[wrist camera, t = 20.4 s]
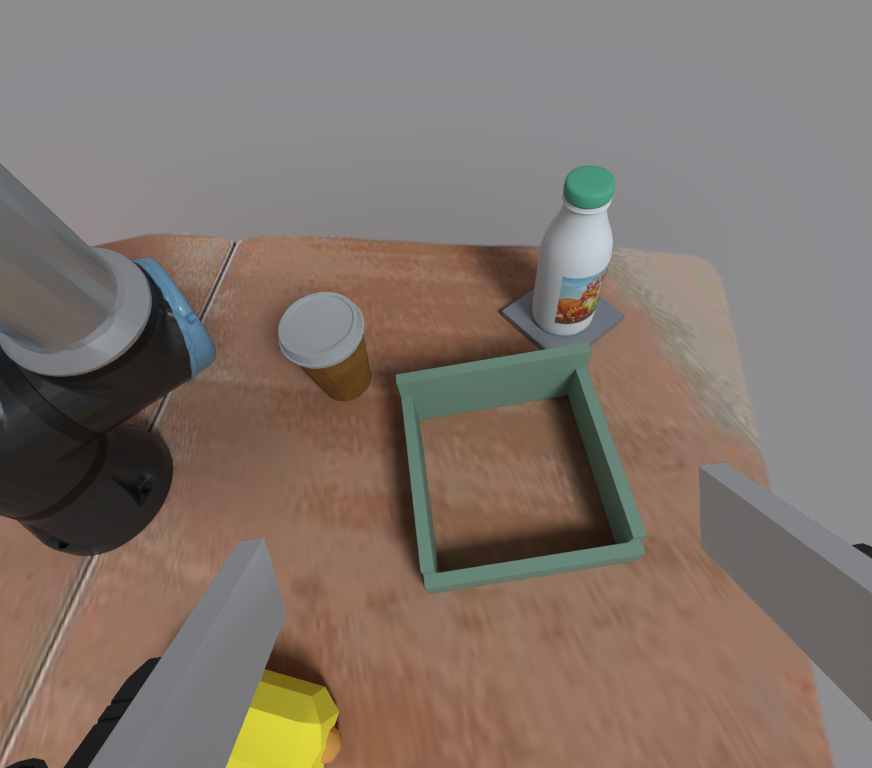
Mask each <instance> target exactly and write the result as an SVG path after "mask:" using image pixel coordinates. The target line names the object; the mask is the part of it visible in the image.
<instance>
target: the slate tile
mask: <svg viewBox="0 0 872 768" xmlns="http://www.w3.org/2000/svg"><path fill="white" fill-rule="evenodd" d="M534 289H535V288H534ZM534 289H532V290H531V291H529V292H528V293H527V294H525V295H524V296H522V297H521V298H520V299H518V300H517V301H515V302H514V303H512V304H511V305H510V306H508V307H507V308H505V309H504V310H503V311H502V316H503V317H504V318H505V319H506V320H507V321H508V322H510V323H511V324H512V325H513V326H514V327H515V328H516V329H518V330H519V331H520V332H521V333H522V334H523V335H524V336H526V337H527V338H528V339H529V340H530V341H531V342H532V343H534V344H535V345H536V346H537V347H538V348H539V349H540V350H545V349H551V348H557V347H563V346H569V345H575V344H581V343H587V342H588V343H589V345H592V344H593V343H594V342H595V341H597V340H598V339H599V338H601V337H602V336H603V335H605V334H606V333H607V332H608V331H610V330H611V329H612V328H614V327H615V326H616V325H617V324H619V323H620V322H621V321H623V319H624V316H625V315H624V314H622V313H621V312H620V311H618V310H617V309H615V308H614V307H613V306H611V305H610V304H609V303H607V302H606V301H605V300H603V299H602V298H601V297H599V300H598V303H597V306H596V309H595V312H594V315H593V318H592V321H591V322H590V324H589V325H588V326H587V327H586V328H585V329H584V330H582V331H581V332H579V333H577V334H574V335H569V336H558V335H553V334H551V333H548V332H546V331H545V330H543V329H542V328H541V327H539V325H538V324H537V323H536V321H535V319H534V317H533V313H532V306H533V297H534Z"/></svg>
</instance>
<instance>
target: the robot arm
mask: <svg viewBox="0 0 872 768" xmlns="http://www.w3.org/2000/svg"><path fill="white" fill-rule="evenodd" d="M215 357H216V348H215V345H214V343H213V341H212V339H211V337H210V336H209V334H208V332H207V331H206V329H205V327H204V326H203V324H202V323H201V321H200V320H199V319H198V317H197V316H196V315H195V314H194V311H193V310H192V308H191V307H190V305H189V303H188V302H187V300H186V299H185V297H184V296H183V294H182V293H181V292H180V290H179V289H178V287H177V286H176V285H175V283H174V282H173V281H172V279H171V278H170V276H169V275H168V274H167V273H166V271H165V270H164V269H163V267H162V266H161V265H160V264H159V263H158V262H157V261H156V260H155V259H153V258H149V257H145V258H142V259H134V260H133V261H131V260H129V259H128V258H127V257H125V256H124V255H122V254H120V253H117V252H115V251H112V250H109V249H105V248H99V247H89V246H88V245H87V244H86V243H85V242H84V241H83V240H82V239H80V238H79V237H78V236H77V235H76V234H75V233H74V232H73V231H72V230H71V229H70V228H69V227H68V226H67V225H66V224H64V222H62V221H61V220H60V219H59V218H58V217H57V216H56V215H55V214H54V213H53V212H52V211H51V210H50V209H49V208H47V207H46V206H45V205H44V204H43V203H42V202H41V201H40V200H39V199H38V198H37V197H36V196H35V195H34V194H32V192H30V191H29V190H28V189H27V188H26V187H25V186H24V185H23V184H22V183H21V182H20V181H19V180H18V179H17V178H16V177H14V176H13V175H12V174H11V173H10V172H9V171H8V170H7V169H6V168H5V167H4V166H3V165H2V164H1V163H0V516H4V517H8V518H11V519H15V520H17V521H18V522H19V523H21V524H22V525H23V526H24V527H25V528H26V529H27V530H29V531H30V532H31V533H32V534H33V535H34V536H35V537H37V538H38V539H39V540H40V541H41V542H42V543H44V544H45V545H47V546H48V547H50V548H52V549H54V550H57V551H60V552H65V553H69V554H73V555H78V556H92V555H98V554H102V553H105V552H108V551H111V550H113V549H116V548H118V547H120V546H121V545H123V544H125V543H126V542H128V541H130V540H131V539H132V538H134V537H135V536H136V535H137V534H139V533H140V532H141V531H142V530H143V529H144V528H145V527H146V526H147V525H148V524H149V523H150V522H151V521H152V519H153V518H154V517H155V516H156V514H157V513H158V511H159V510H160V508H161V507H162V505H163V503H164V501H165V499H166V497H167V494H168V492H169V489H170V485H171V481H172V474H173V465H172V459H171V456H170V453H169V451H168V449H167V447H166V446H165V444H164V443H163V442H162V441H161V440H160V439H158V438H157V437H156V436H154V435H152V434H151V433H149V432H148V431H146V430H144V429H142V428H140V427H137V426H134V425H128V424H122V423H123V422H125V421H126V420H128V419H129V418H131V417H132V416H134V415H135V414H137V413H139V412H140V411H142V410H143V409H145V408H146V407H148V406H149V405H151V404H152V403H154V402H155V401H157V400H158V399H160V398H161V397H163V396H165V395H166V394H168V393H169V392H171V391H172V390H174V389H175V388H177V387H179V386H180V385H182V384H183V383H185V382H189V381H191V380H193V379H194V378H195V376H196V374H198V373H199V372H201V371H202V370H203V369H205V368H206V367H207V366H209V365H210V364H211V363H212V362H213V361H214V359H215ZM699 487H700V524H701V548H702V549H703V550H704V551H705V552H706V553H707V554H708V555H709V556H710V557H711V558H712V559H713V560H714V561H715V562H716V563H717V564H718V565H719V566H720V567H721V568H722V569H723V570H724V571H725V572H726V573H727V574H728V575H729V576H730V577H731V578H732V579H733V580H734V581H735V582H736V583H737V584H738V585H739V586H740V587H741V588H742V589H743V590H744V591H745V592H746V593H747V594H748V595H749V596H750V598H751V599H752V600H753V601H754V602H755V603H756V604H757V605H758V606H759V607H760V608H761V609H762V610H763V611H764V612H765V613H766V614H767V615H768V616H769V617H770V618H771V619H772V620H773V621H774V622H775V623H776V624H777V625H778V626H779V627H780V628H781V629H782V630H783V631H784V632H785V633H786V634H787V635H788V636H789V637H790V638H791V639H792V640H793V641H794V642H795V643H796V644H797V645H798V647H799V648H800V649H801V650H802V651H803V652H804V653H805V654H806V655H807V656H808V657H809V658H810V659H811V660H812V661H813V662H814V663H815V664H816V665H817V666H818V667H819V668H820V669H821V670H822V671H823V672H824V673H825V674H826V675H827V676H828V677H829V678H830V679H831V680H832V681H833V682H834V683H835V684H836V685H837V686H838V687H839V688H840V689H841V690H842V691H843V692H844V693H845V694H846V695H847V696H848V697H849V699H850V700H852V701H853V703H854V704H855V705H856V706H857V707H858V708H859V709H860V710H861V711H862V712H863V713H864V714H865V715H866V716H867V717H868V718H869V719H870V720H871V721H872V547H871V546H869V545H866V544H864V543H863V544H856V545H850V544H849V543H847V542H845V541H844V540H843V539H841V538H840V537H838V536H837V535H835V534H834V533H832V532H830V531H829V530H827V529H826V528H824V527H823V526H821V525H820V524H818V523H817V522H815V521H814V520H812V519H810V518H809V517H808V516H806V515H805V514H803V513H802V512H800V511H798V510H797V509H795V508H794V507H792V506H791V505H789V504H788V503H786V502H785V501H783V500H782V499H780V498H779V497H777V496H776V495H774V494H773V493H771V492H770V491H768V490H767V489H765V488H764V487H762V486H761V485H759V484H757V483H756V482H754V481H753V480H751V479H750V478H748V477H747V476H745V475H744V474H742V473H741V472H739V471H738V470H736V469H735V468H733V467H732V466H730V465H729V464H727V463H726V462H722V463H716V464H710V465H704V466H699ZM285 616H286V611H285V607H284V604H283V600H282V597H281V594H280V590H279V587H278V583H277V580H276V577H275V573H274V570H273V566H272V563H271V560H270V556H269V553H268V550H267V546H266V543H265V539H264V538H257V539H251V540H245V541H239V542H238V544H237V545H236V547H235V548H234V550H233V551H232V553H231V554H230V556H229V557H228V559H227V560H226V562H225V563H224V565H223V566H222V568H221V569H220V571H219V572H218V574H217V575H216V577H215V578H214V580H213V581H212V583H211V584H210V586H209V587H208V589H207V590H206V592H205V593H204V595H203V596H202V598H201V599H200V601H199V602H198V604H197V605H196V607H195V608H194V610H193V611H192V613H191V614H190V616H189V617H188V619H187V620H186V622H185V623H184V625H183V626H182V628H181V629H180V631H179V632H178V634H177V635H176V637H175V638H174V640H173V641H172V643H171V644H170V646H169V647H168V649H167V650H166V652H165V653H164V655H163V656H162V657H158V658H151V659H148V660H147V661H146V662H145V663H144V664H143V665H142V666H141V667H140V668H139V669H138V670H136V671H135V672H134V673H133V674H132V675H131V676H130V677H129V678H128V679H127V680H126V681H125V683H124V684H123V685H122V687H121V688H120V690H119V691H118V692H117V694H116V695H115V697H114V698H113V699H112V701H111V705H109V706H107V708H106V709H105V711H104V712H103V713H102V715H101V716H100V718H99V719H98V723H97V724H96V725H94V726H93V727H92V729H91V730H90V732H89V733H88V734H87V736H86V737H85V739H84V740H83V741H82V743H81V744H80V746H79V747H78V748H77V750H76V751H75V752H74V754H73V755H72V757H71V758H70V759H69V761H68V762H67V764H66V765H65V766H64V768H226V766H227V763H228V761H229V758H230V756H231V753H232V751H233V748H234V746H235V743H236V741H237V738H238V735H239V733H240V730H241V728H242V725H243V723H244V720H245V718H246V715H247V713H248V710H249V708H250V705H251V702H252V700H253V697H254V695H255V692H256V690H257V687H258V685H259V682H260V680H261V677H262V674H263V672H264V669H265V667H266V664H267V662H268V659H269V657H270V654H271V652H272V649H273V647H274V644H275V641H276V639H277V636H278V634H279V631H280V629H281V626H282V624H283V621H284V619H285ZM6 768H48V767H47V765H46V763H45V761H44V760H41V759H36V758H31V759H27V760H23V761H19V762H16V763H14V764H12V765H10V766H8V767H6Z"/></svg>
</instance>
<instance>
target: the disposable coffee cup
mask: <svg viewBox="0 0 872 768" xmlns="http://www.w3.org/2000/svg"><path fill="white" fill-rule="evenodd" d="M364 326H365V324H364V318H363V315H362V313H361V311H360V309H359V308H358V307H357V306H356V305H355V304H354V303H353V302H351V301H350V300H349V299H347V298H346V297H344V296H342V295H340V294H337V293H332V292H318V293H314V294H310V295H307V296H305V297H303V298H301V299H299V300H297V301H296V302H295V303H293V304H292V305H291V306H290V307H289V308H288V309H287V310H286V311H285V313H284V315H283V316H282V318H281V320H280V323H279V327H278V334H279V336H278V338H279V346H280V349H281V351H282V352H283V354H284V355H285V356H286V357H287V358H288V359H289V360H290V361H291V362H293V363H295V364H298V365H299V366H300V367H301V368H302V369H303V370H304V371H305V372H306V373H307V374H308V375H309V376H310V377H311V378H312V379H313V380H314V381H315V382H316V383H317V384H318V385H319V386H320V387H321V388H322V389H323V390H324V391H325V392H326V393H327V395H328V396H330V397H331V398H333V399H335V400H338V401H348V400H352V399H355V398H357V397H359V396H360V395H362V394H363V393H364V392H365V391H366V389H367V388H368V386H369V384H370V381H371V372H370V367H369V362H368V356H367V351H366V346H365V340H364V335H363V333H364Z"/></svg>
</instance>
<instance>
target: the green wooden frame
mask: <svg viewBox="0 0 872 768" xmlns="http://www.w3.org/2000/svg"><path fill="white" fill-rule="evenodd" d="M591 353H592V351H591V348H590V345H589V343H588V342H587V343H581V344H575V345H569V346H563V347H557V348H551V349H545V350H539V351H533V352H527V353H521V354H516V355H510V356H504V357H498V358H492V359H486V360H480V361H474V362H468V363H462V364H456V365H450V366H444V367H438V368H432V369H427V370H421V371H415V372H409V373H403V374H397V375H396V382H397V387H398V390H399V392H400V395H401V399H402V408H403V417H404V426H405V435H406V444H407V453H408V462H409V471H410V480H411V489H412V498H413V507H414V516H415V525H416V534H417V543H418V552H419V561H420V570H421V573H422V574H423V576H424V584H425V590H426V591H427V592H428V593H429V594H433V593H439V592H446V591H452V590H458V589H464V588H471V587H477V586H483V585H489V584H496V583H502V582H508V581H514V580H521V579H527V578H533V577H539V576H546V575H552V574H558V573H564V572H571V571H577V570H583V569H589V568H596V567H602V566H608V565H614V564H621V563H627V562H633V561H635V560H637V559H638V558H640V557H641V556H643V555H645V551H644V548H643V545H642V542H641V540H642V539H643V538H645V537H646V536H647V534H646V531H645V528H644V526H643V523H642V520H641V517H640V515H639V512H638V509H637V506H636V503H635V501H634V498H633V495H632V492H631V489H630V487H629V484H628V481H627V478H626V475H625V473H624V470H623V467H622V464H621V462H620V459H619V456H618V453H617V450H616V448H615V445H614V442H613V439H612V436H611V434H610V431H609V428H608V425H607V422H606V420H605V417H604V414H603V411H602V408H601V406H600V403H599V400H598V397H597V395H596V392H595V389H594V386H593V383H592V381H591V378H590V375H589V372H588V369H587V365H588V362H589V359H590V356H591ZM567 395H568V398H569V401H570V404H571V407H572V410H573V413H574V416H575V420H576V423H577V426H578V429H579V432H580V435H581V438H582V441H583V444H584V448H585V451H586V454H587V457H588V460H589V463H590V466H591V469H592V472H593V476H594V479H595V482H596V485H597V488H598V491H599V494H600V497H601V500H602V504H603V507H604V510H605V513H606V516H607V519H608V522H609V525H610V528H611V532H612V535H613V538H614V541H615V544H616V545H609V546H603V547H597V548H591V549H584V550H578V551H572V552H566V553H560V554H553V555H547V556H541V557H535V558H528V559H522V560H516V561H510V562H504V563H497V564H491V565H485V566H479V567H472V568H466V569H460V570H454V571H448V572H441V573H439V567H438V559H437V552H436V544H435V536H434V529H433V521H432V513H431V506H430V498H429V490H428V482H427V475H426V467H425V459H424V452H423V444H422V436H421V429H420V421H419V420H423V419H429V418H435V417H441V416H447V415H453V414H459V413H465V412H471V411H477V410H483V409H489V408H495V407H501V406H507V405H513V404H519V403H525V402H531V401H537V400H543V399H549V398H555V397H561V396H567Z"/></svg>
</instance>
